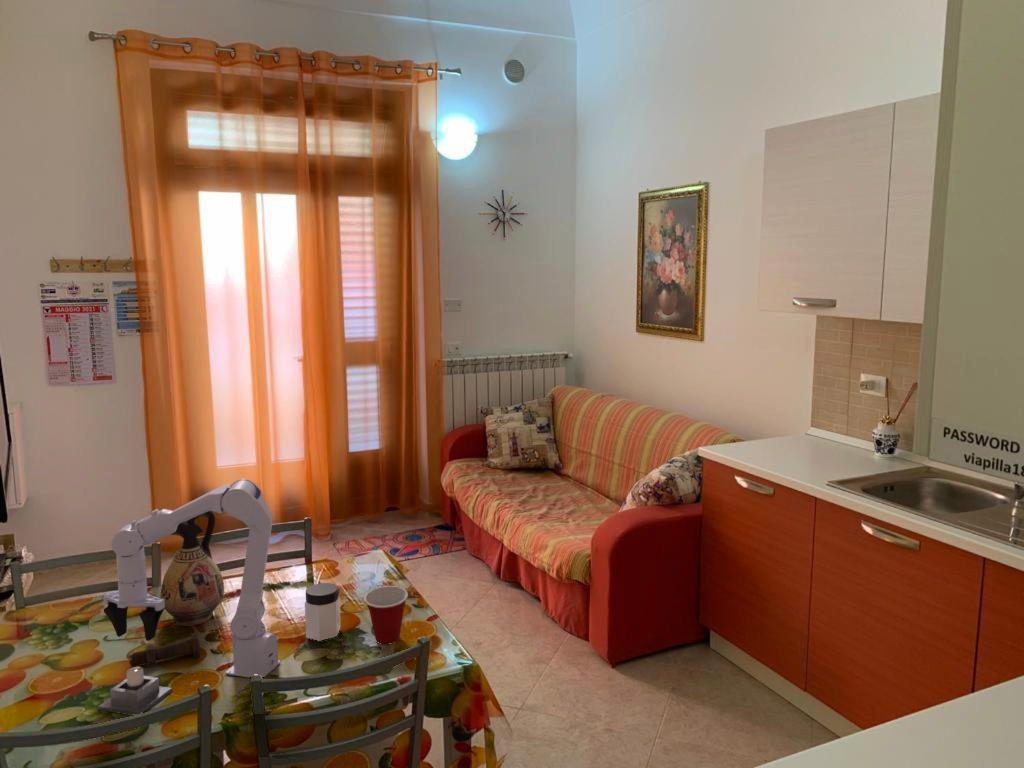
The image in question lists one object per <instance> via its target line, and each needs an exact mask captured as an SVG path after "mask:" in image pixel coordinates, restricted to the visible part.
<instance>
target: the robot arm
mask: <svg viewBox="0 0 1024 768" xmlns="http://www.w3.org/2000/svg"><path fill="white" fill-rule="evenodd" d="M263 495H264V494H263V490H262V488H260V487H259V486H258V485H257V483H255V482H254V481H252V480H250V479H247V478H240V479H239V478H238V479H237V480H235V481H234V482H232V484H231V483H230V482H229V483H226V484H223V485H222V486H219V487H217V488H214V489H213V490H210V491H208V492H206V493H204V494H203V495H201V496H199V497H196V498H195V499H193V500H192V501H189V502H187V503H186V504H183V505H182V506H179V507H178V508H176V509H174V510H171V509H168V508H167V509H166V508H162V509H161V510H159V509H158V508H156V509H154V510H152V511H151V513H150V515H148V516H146V517H144V518H142V519H139V520H136V519H134V520H133V521H131V522H130V523H129V524H126V525H124V526H122V528H121V529H120V530H118V532H117V533H115V534H114V535H113V537H112V539H111V541H110V542H111V543H110V544H111V549H112V551H113V552H114V553H115V556H116V574H117V589H118V592H108V593H106V594H105V595H103V596H102V598H103V605H107V606H106V607H104V609H103V613H104V614H105V615H106V616H107V618H108V620H109V621H110V622H111V624H112V626H113V628H114V631H115V633H116V637H119V638H120V637H122V636H123V635H125V634H126V633H127V632H128V631H127V630H128V610H129V608H130V607H135V608H143V609H145V610H143V611H141V612H140V613H139V614H138V615H139V617H140V619H141V621H142V624H143V629H144V637H145V640H146V641H149V642H150V641H152V640H153V639H154V638H155V637H156V633H157V628H158V624H159V623H160V622H159V621H160V619H161V617H162V614H163V612H164V611H165V602H164V599H161V597H160V598H159V597H157V596H154V595H151V594H150V593H149V592H148V581H147V579H148V578H147V564H146V555H145V554H146V553H145V546H149V545H151V544H153V543H155V542H156V541H159V540H161V539H163V538H165V537H168V536H169V535H170V534H172V533H174V532H175V531H176V530H177V527H178V524H180V523H182V522H184V521H185V522H186V521H187V520H189V519H191V518H194V517H196V516H198V515H201V514H203V513H205V512H208V511H212V512H215V513H217V514H222V513H223V512H225V513H226V514H228V516H231V517H233V518H234V519H237V520H239V521H240V522H243V523H244V525H245V526H246V527H248V529H249V531H248V538H247V546H246V552H245V553H246V554H245V558H244V559H245V560H244V566H243V573H242V580H241V588H240V595H239V599H238V602H237V603H238V604H237V606H236V611H235V612H234V613H235V614H234V615H233V618H232V619H231V621H230V631H231V635H232V637H231V638H232V639H231V640H232V657H233V665H232V666H231V667H230V668H229V669H228V670H226V671H225V674H226V675H230V676H238V677H244V678H250V676H252V675H254V674H258V675H261V676H262V677H264V678H265V677H266V676H267V675H268V674H269V673H271V672H272V671H273V670H274V669H275V668H276V667H278V665H280V664H281V660H279V651H278V650H279V646H278V638H277V636H276V635H275V634H274V633H271V632H269V631H267V629H266V626H265V624H264V623H263V622H264V621H262V619H263V617H264V614H265V612H266V606H265V604H264V601H263V596H264V592H263V590H264V589H263V588H264V582H265V575H266V568H267V561H268V554H269V548H270V547H269V546H270V542H271V541H270V539H271V535H272V534H271V532H272V528H273V527H272V526H273V515H272V512H271V510H270V508H269V506H268V504H267V502H266V500H265V498H264V496H263ZM250 679H251V678H250Z"/></svg>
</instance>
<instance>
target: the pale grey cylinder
mask: <svg viewBox="0 0 1024 768" xmlns="http://www.w3.org/2000/svg"><path fill="white" fill-rule="evenodd" d="M125 673H126V675H125V676H126V679H127V689H128V690H134V691H137V690H138V689H139V688H141V687H142V686H144V676H145V675H144V668H143V667H142V666H133V667H130V668H128V669H127V670H126V672H125Z"/></svg>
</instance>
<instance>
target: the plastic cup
mask: <svg viewBox="0 0 1024 768" xmlns="http://www.w3.org/2000/svg"><path fill="white" fill-rule="evenodd" d="M408 597H409V594H408V590H406V589H405V588H404V587H400V586H397V585H385V586H379V587H376V588H373V589H371V590H369V591H368V592H366V594H365V595H364V597H363V599H364V603H365V604H366V605H367V608H368V611H369V615H370V619H371V624H372V630H373V633H374V638H375V641H377V643H378V642H379V643H381V644H380V645H384V644H387V645H390V644H389V643H393V642H395V641H397V640H398V639H399V640H400V636H401V635H400V634H401V629H402V625H403V618H404V611H405V607H406V602H407V598H408ZM399 640H398V641H399ZM398 641H397V642H398ZM379 643H378V644H379ZM395 643H396V642H395ZM393 644H394V643H393Z"/></svg>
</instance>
